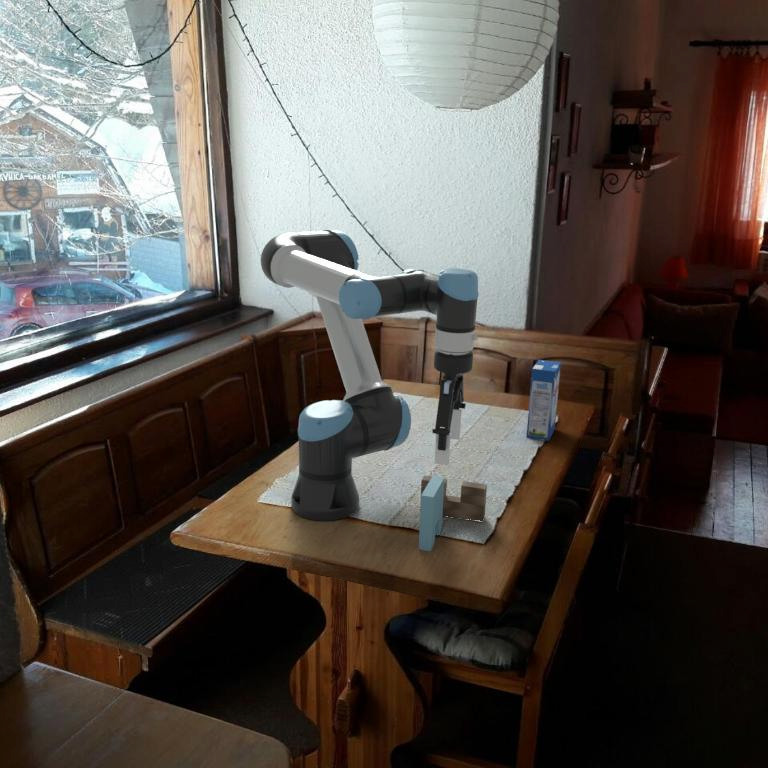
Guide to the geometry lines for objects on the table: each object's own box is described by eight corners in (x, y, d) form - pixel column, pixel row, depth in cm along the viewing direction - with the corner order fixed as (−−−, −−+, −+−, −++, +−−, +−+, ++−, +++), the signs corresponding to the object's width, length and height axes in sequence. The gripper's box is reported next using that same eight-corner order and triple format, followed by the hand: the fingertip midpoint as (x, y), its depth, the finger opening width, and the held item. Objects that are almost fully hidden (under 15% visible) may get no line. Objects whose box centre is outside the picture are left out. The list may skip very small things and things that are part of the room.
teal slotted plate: (430, 551, 161) (433, 497, 158) (418, 549, 162) (421, 495, 158) (441, 529, 171) (444, 477, 167) (430, 527, 171) (432, 475, 168)
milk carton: (548, 440, 221) (555, 371, 215) (526, 437, 223) (532, 368, 217) (554, 429, 230) (561, 362, 224) (533, 425, 232) (538, 359, 226)
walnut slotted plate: (420, 512, 178) (421, 479, 175) (422, 508, 180) (424, 475, 177) (482, 522, 174) (484, 489, 171) (484, 517, 176) (486, 484, 174)
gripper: (463, 370, 143) (456, 478, 150) (481, 335, 166) (474, 430, 173) (422, 365, 145) (416, 472, 152) (446, 332, 168) (440, 426, 175)
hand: (447, 450), depth 162 cm, fingers open, 13 cm apart
